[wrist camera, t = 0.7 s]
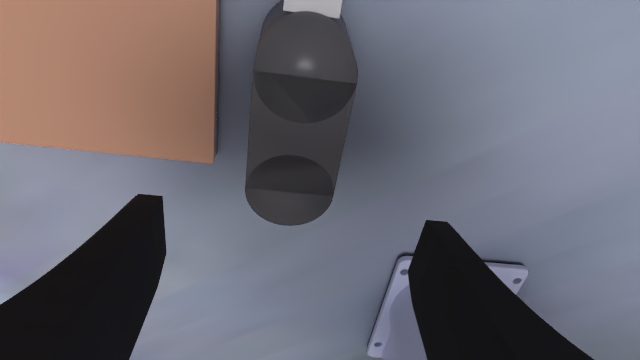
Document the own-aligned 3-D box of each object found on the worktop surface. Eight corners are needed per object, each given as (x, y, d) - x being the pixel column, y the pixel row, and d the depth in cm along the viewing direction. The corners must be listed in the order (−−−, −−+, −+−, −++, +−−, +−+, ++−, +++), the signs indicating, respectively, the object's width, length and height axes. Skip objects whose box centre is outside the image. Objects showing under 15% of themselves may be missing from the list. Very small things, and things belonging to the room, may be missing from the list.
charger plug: (322, 176, 23) (326, 228, 20) (251, 169, 22) (243, 221, 19) (363, -45, 17) (378, -24, 14) (268, -61, 17) (260, -42, 13)
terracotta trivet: (216, 152, 22) (213, 164, 21) (-29, 127, 20) (-43, 138, 20) (222, -117, 15) (217, -116, 15) (-131, -179, 14) (-157, -181, 13)
